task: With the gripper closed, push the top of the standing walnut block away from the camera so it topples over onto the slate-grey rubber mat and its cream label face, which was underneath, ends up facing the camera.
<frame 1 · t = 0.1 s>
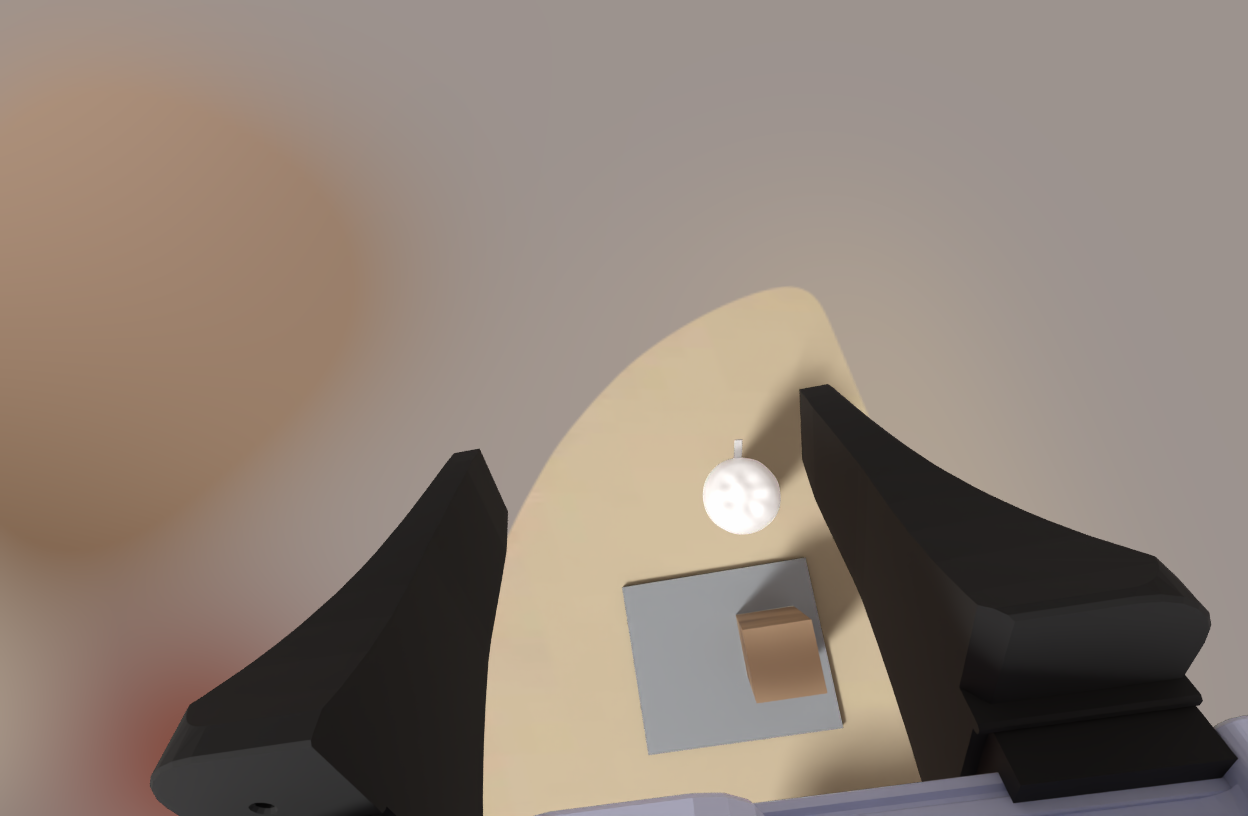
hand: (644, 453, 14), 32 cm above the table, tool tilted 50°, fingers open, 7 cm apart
milkshake: (733, 496, 45), on the table
walnut block: (770, 640, 42), resting on mat
mat: (728, 653, 43), on the table
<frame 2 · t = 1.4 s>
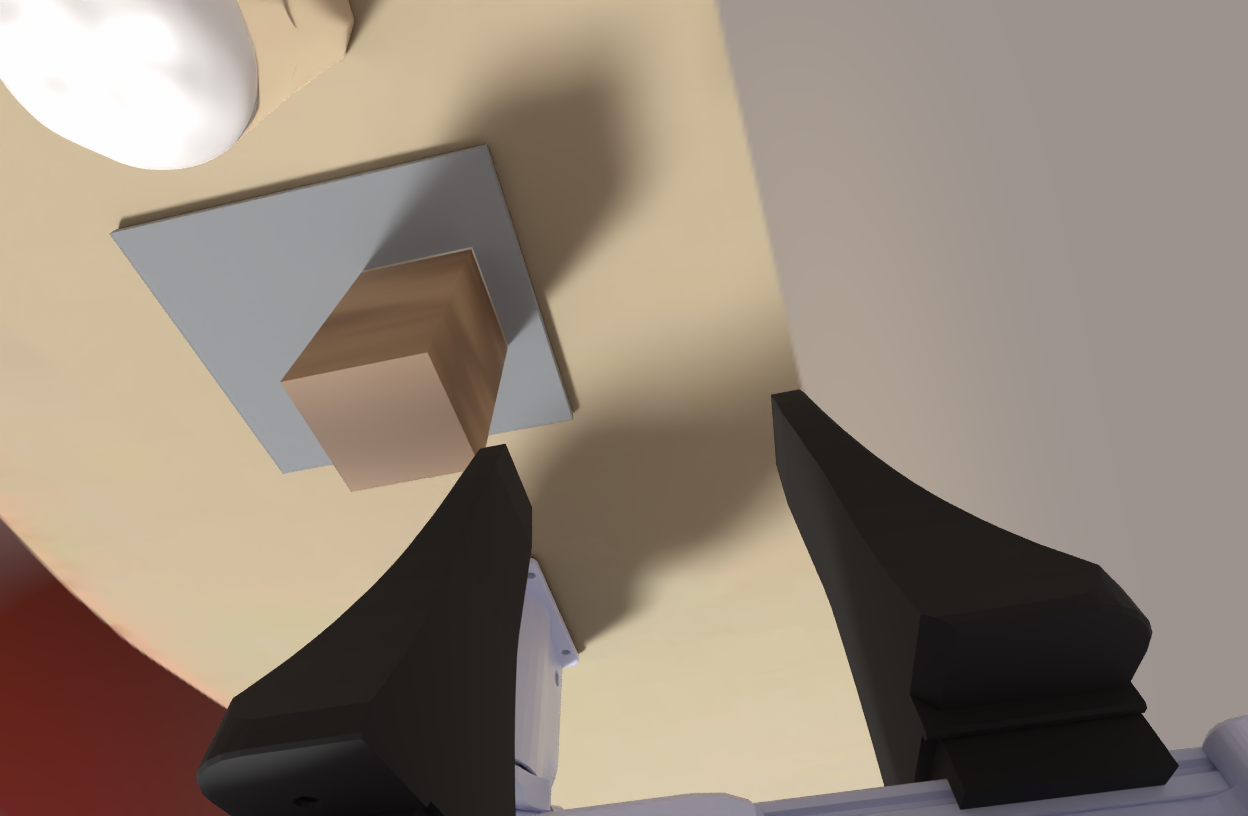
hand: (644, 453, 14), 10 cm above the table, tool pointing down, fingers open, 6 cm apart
walnut block: (438, 309, 23), resting on mat
mat: (370, 331, 23), on the table
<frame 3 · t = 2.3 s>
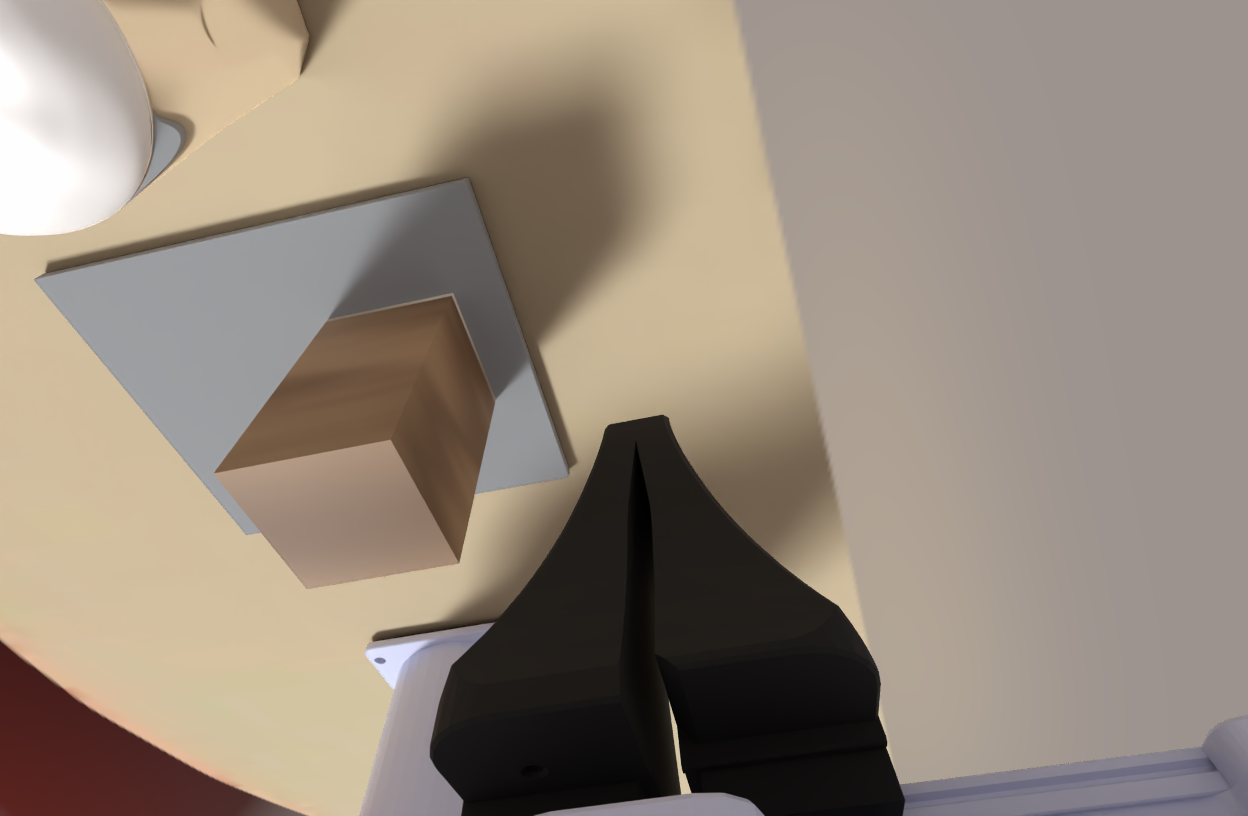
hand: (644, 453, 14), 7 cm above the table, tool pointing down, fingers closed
walnut block: (416, 361, 20), resting on mat
mat: (339, 384, 21), on the table
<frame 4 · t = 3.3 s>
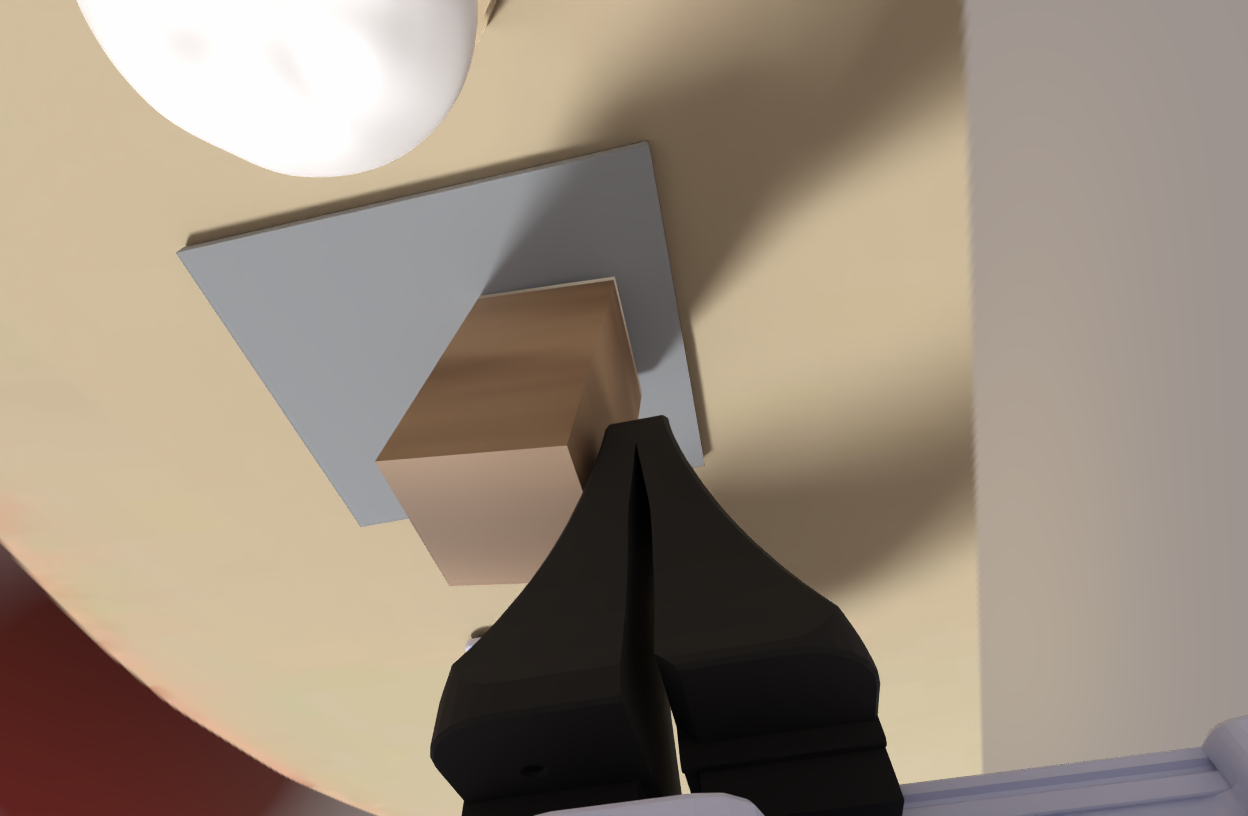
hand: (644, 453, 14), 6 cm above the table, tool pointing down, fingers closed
walnut block: (564, 346, 18), point 1 cm above the table, tilted 9°, touching mat
mat: (478, 366, 20), on the table
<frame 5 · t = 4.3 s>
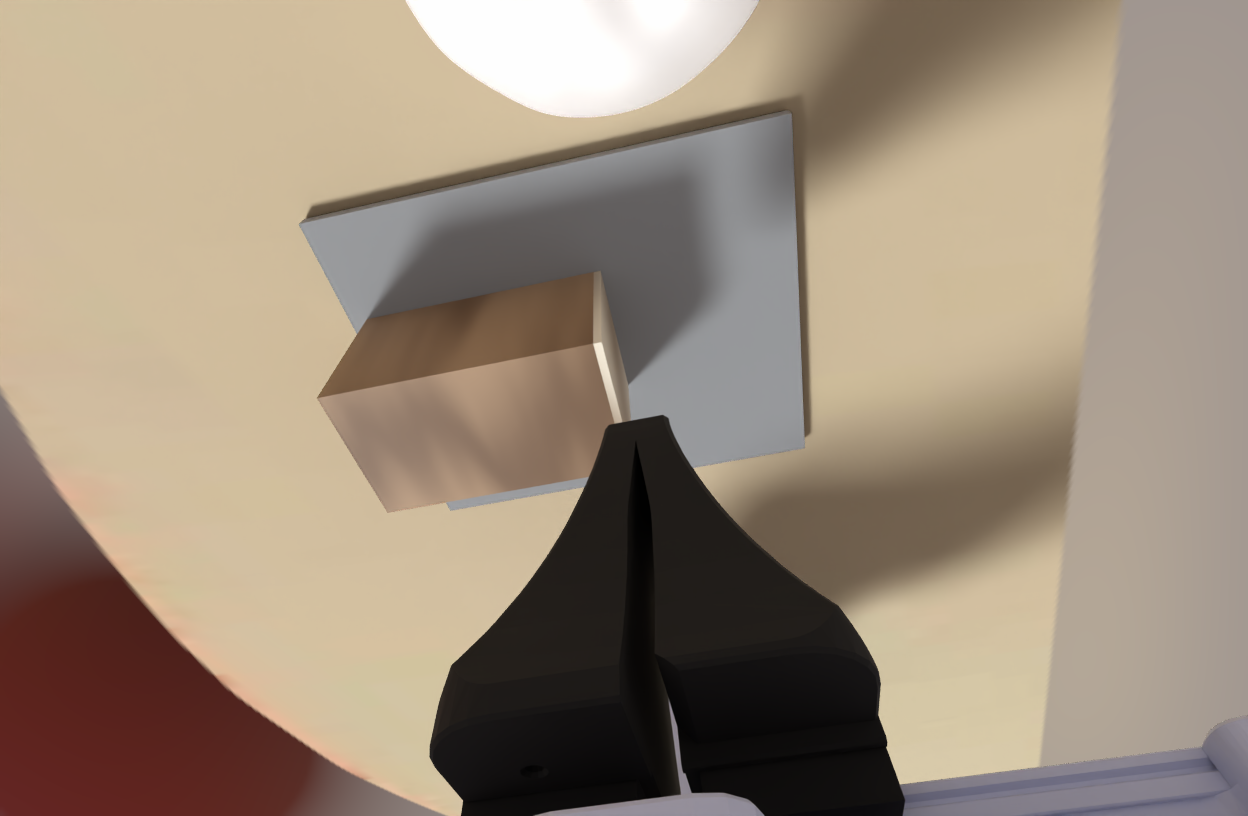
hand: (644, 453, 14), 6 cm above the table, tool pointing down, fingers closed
walnut block: (617, 367, 17), point 2 cm above the table, tilted 90°, touching mat
mat: (587, 345, 19), on the table
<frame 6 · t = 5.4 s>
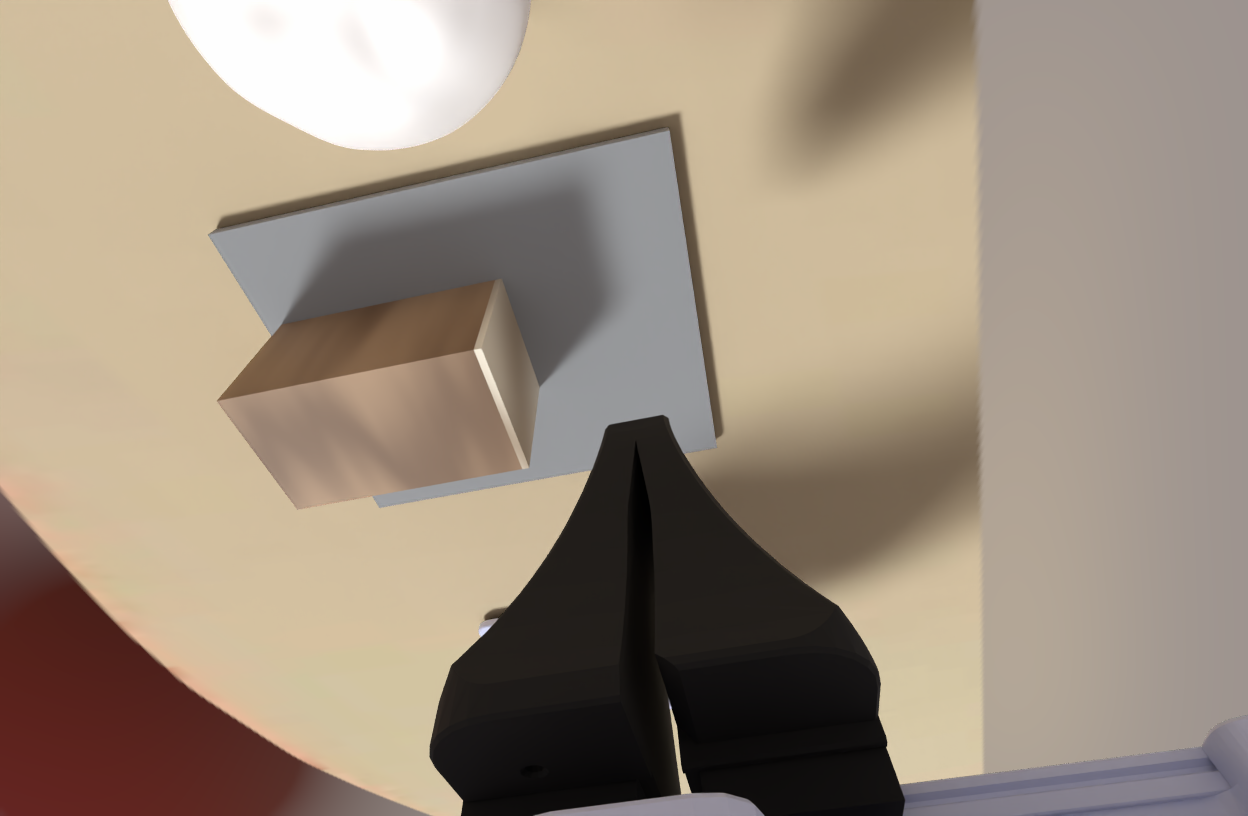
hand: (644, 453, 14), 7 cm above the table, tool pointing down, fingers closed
walnut block: (515, 370, 18), point 2 cm above the table, tilted 90°, touching mat
mat: (498, 349, 20), on the table
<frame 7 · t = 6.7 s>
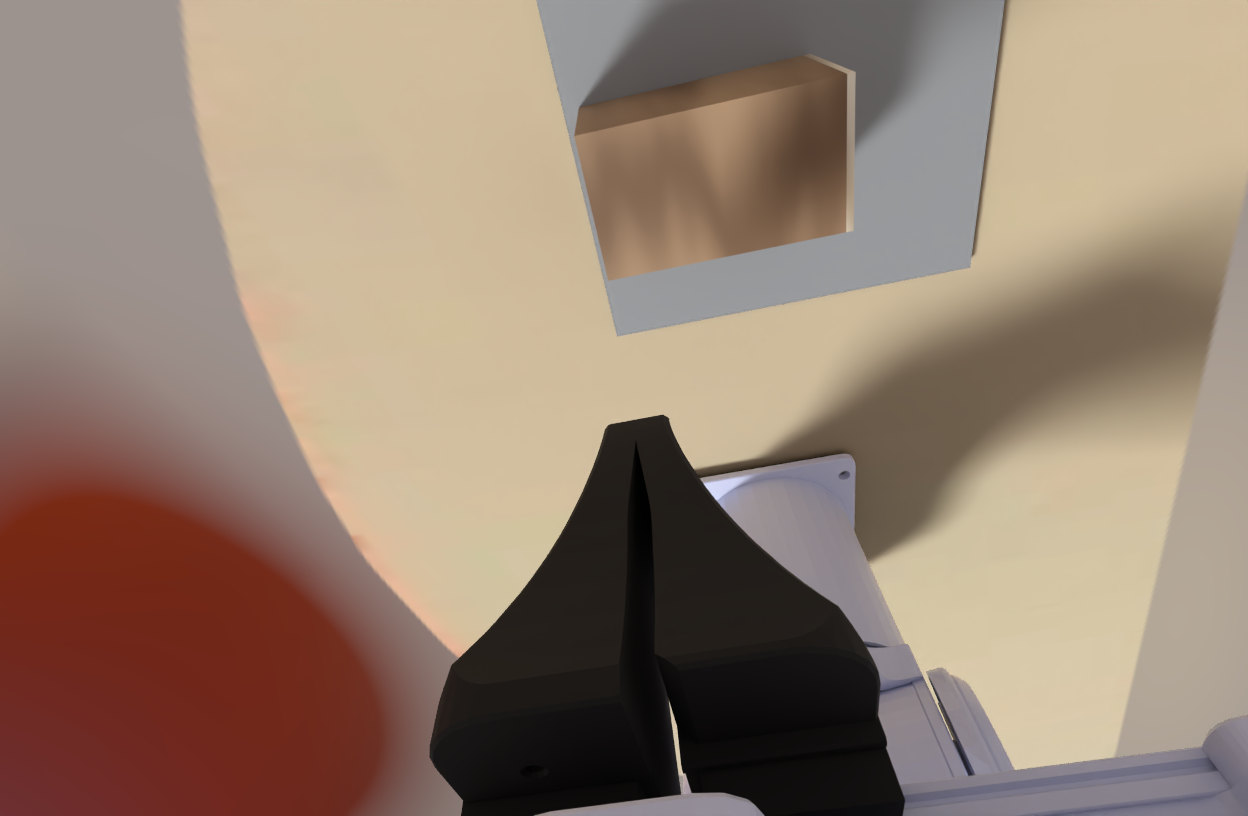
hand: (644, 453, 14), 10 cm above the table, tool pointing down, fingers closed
walnut block: (831, 139, 18), point 2 cm above the table, tilted 90°, touching mat
mat: (777, 146, 20), on the table
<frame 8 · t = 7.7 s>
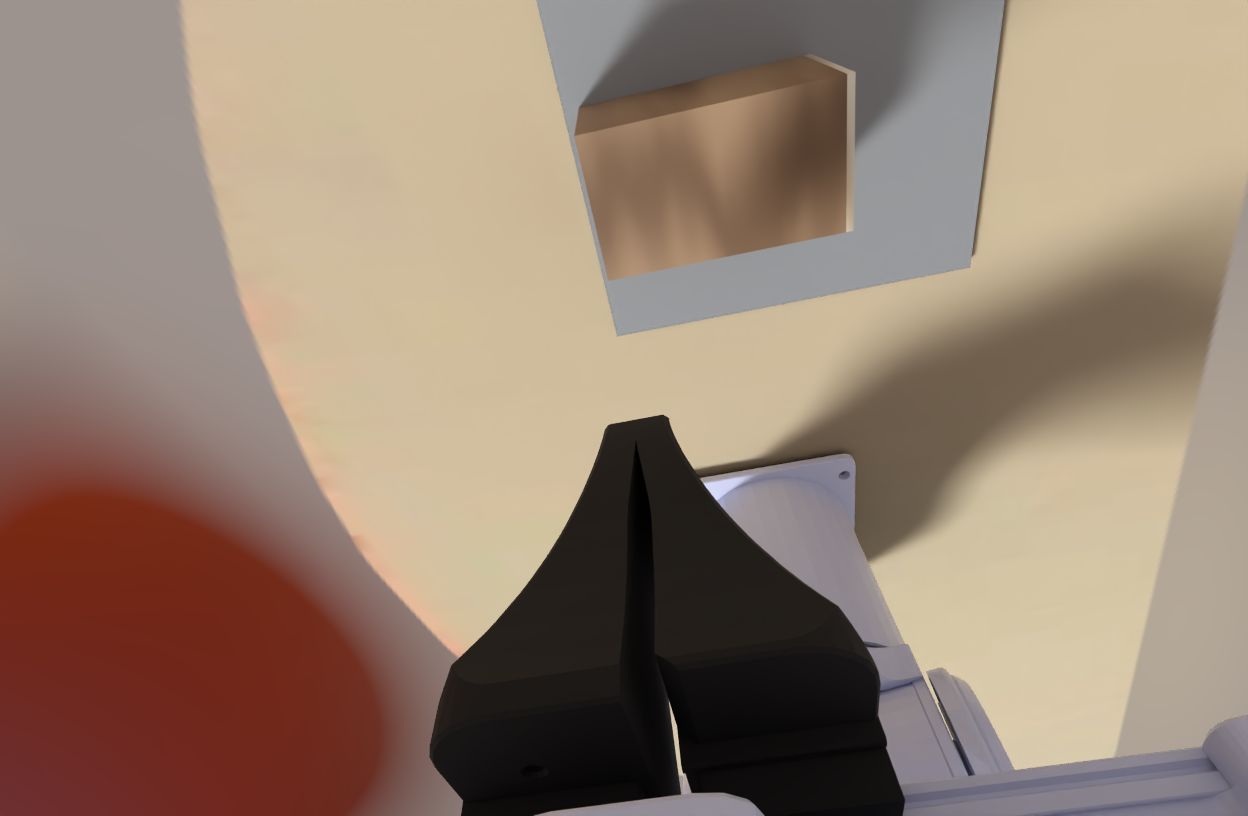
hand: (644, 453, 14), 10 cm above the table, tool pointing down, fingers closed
walnut block: (831, 139, 18), point 2 cm above the table, tilted 90°, touching mat
mat: (777, 146, 20), on the table
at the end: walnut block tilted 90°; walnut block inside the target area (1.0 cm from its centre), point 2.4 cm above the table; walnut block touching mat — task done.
